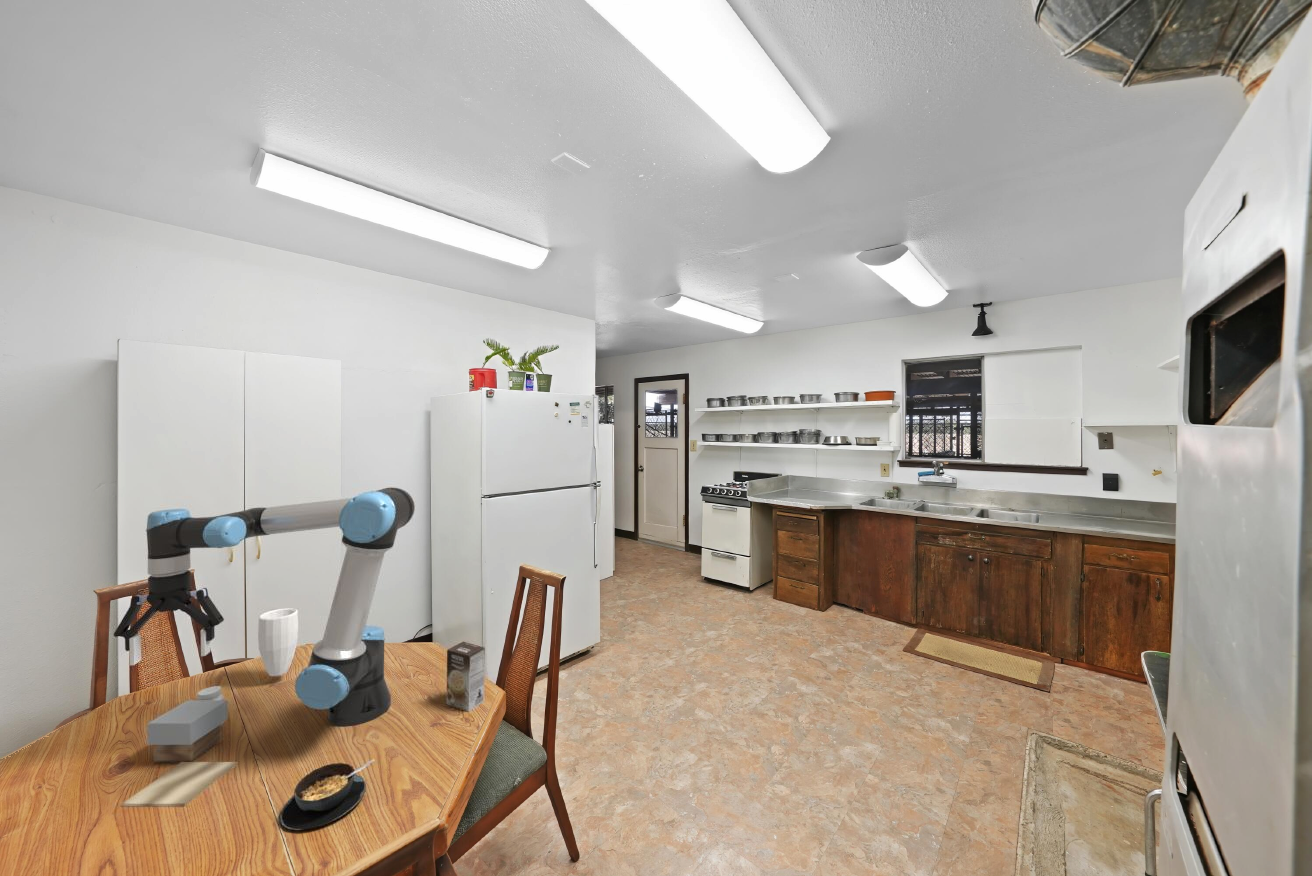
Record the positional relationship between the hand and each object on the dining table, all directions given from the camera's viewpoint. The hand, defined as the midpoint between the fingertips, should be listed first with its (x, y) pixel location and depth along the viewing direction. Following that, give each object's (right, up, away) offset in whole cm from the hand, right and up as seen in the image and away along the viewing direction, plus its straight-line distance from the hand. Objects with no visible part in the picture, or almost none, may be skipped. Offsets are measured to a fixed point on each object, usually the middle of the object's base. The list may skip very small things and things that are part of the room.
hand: (171, 658), depth 121 cm
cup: (+1, -22, +32) cm, 39 cm away
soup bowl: (+51, -23, -18) cm, 58 cm away
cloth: (+15, -22, -12) cm, 30 cm away
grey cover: (+6, -17, -2) cm, 18 cm away
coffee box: (+65, -23, +21) cm, 72 cm away
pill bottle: (+2, -22, +8) cm, 24 cm away
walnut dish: (+6, -22, -2) cm, 23 cm away
